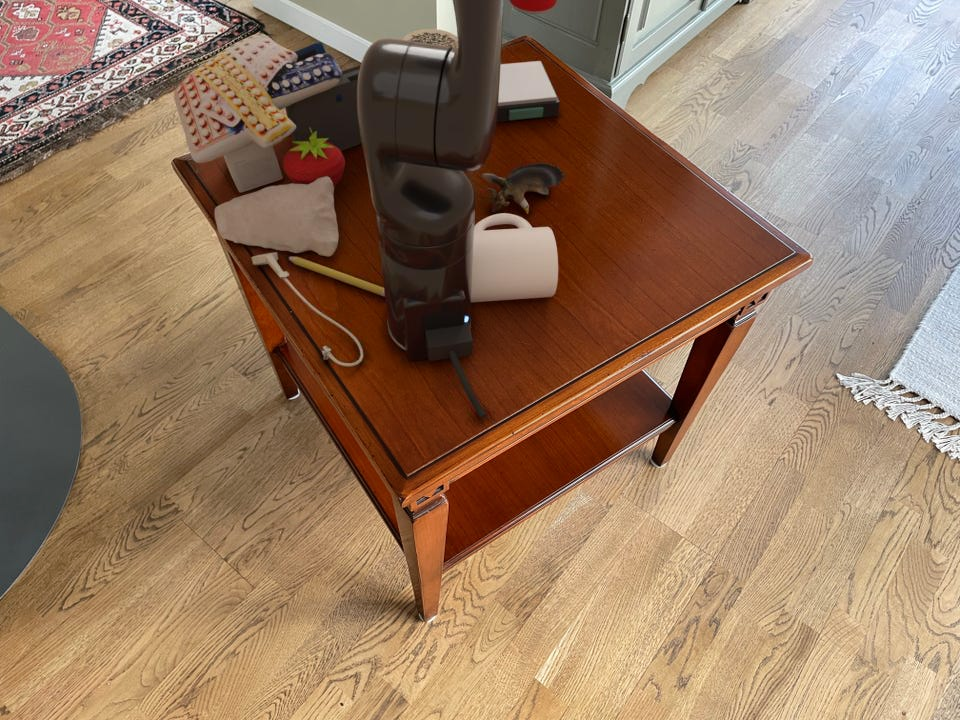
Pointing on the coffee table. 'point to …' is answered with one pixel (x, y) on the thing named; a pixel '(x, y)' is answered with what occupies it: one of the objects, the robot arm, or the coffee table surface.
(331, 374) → the coffee table surface
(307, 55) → the blue flat block
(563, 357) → the coffee table surface
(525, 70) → the scale
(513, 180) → the eagle figurine
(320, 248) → the decorative stone
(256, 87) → the pill blister packs
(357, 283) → the pencil
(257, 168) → the product carton
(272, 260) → the white cable
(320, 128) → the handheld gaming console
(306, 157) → the red tomato pincushion
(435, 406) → the coffee table surface
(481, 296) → the mug
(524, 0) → the beverage can
